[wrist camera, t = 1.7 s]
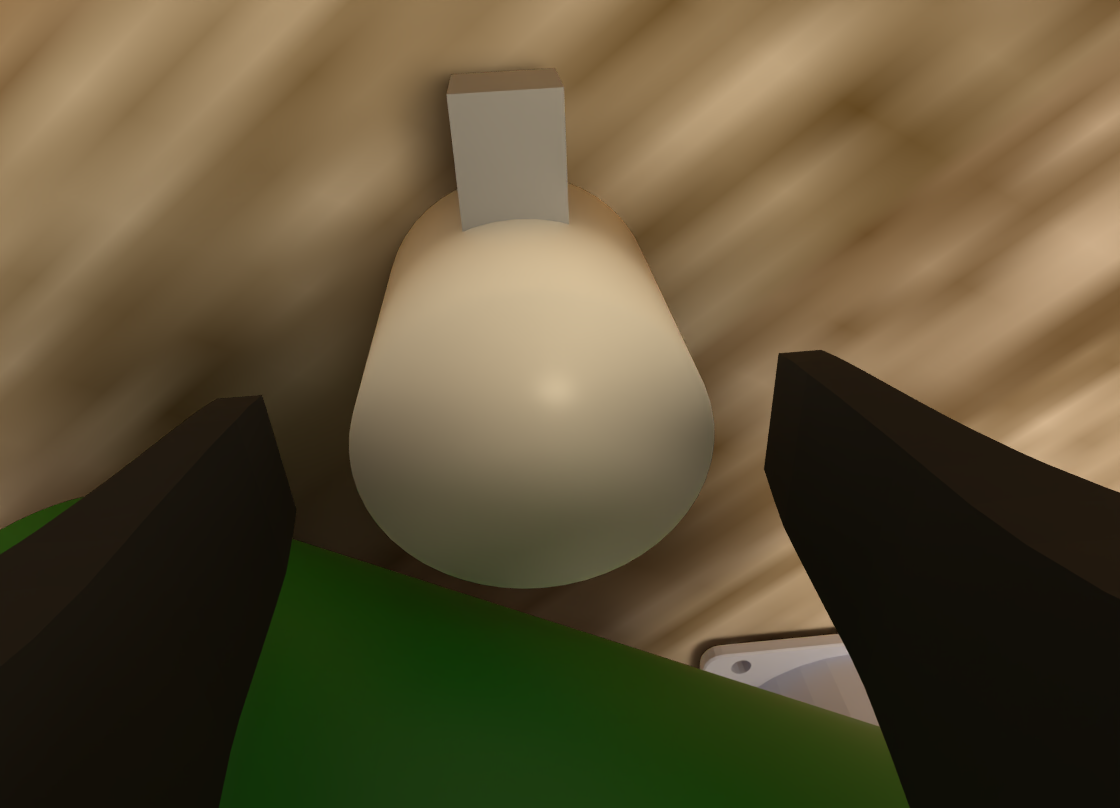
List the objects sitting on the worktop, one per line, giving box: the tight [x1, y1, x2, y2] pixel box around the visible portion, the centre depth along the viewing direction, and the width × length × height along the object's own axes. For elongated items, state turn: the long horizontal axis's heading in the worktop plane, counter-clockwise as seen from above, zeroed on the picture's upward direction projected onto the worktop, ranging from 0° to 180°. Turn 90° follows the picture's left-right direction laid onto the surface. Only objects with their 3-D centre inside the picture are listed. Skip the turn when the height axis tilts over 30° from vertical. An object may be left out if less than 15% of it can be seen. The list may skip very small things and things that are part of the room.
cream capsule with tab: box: [349, 68, 714, 589], centre depth 12 cm, size 5×7×5 cm
